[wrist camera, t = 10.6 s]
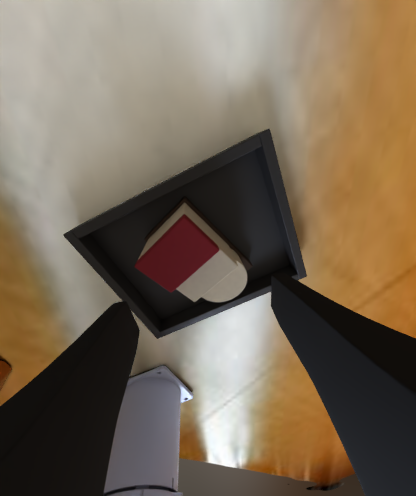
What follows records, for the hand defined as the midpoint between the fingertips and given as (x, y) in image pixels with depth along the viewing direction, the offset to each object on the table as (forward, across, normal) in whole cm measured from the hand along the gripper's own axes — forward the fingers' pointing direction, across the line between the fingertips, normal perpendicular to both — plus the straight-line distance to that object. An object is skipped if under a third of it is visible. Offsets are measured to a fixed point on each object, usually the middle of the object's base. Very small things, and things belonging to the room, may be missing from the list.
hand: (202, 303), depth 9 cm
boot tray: (+7, 0, 0) cm, 7 cm away
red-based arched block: (+7, 0, 0) cm, 7 cm away
